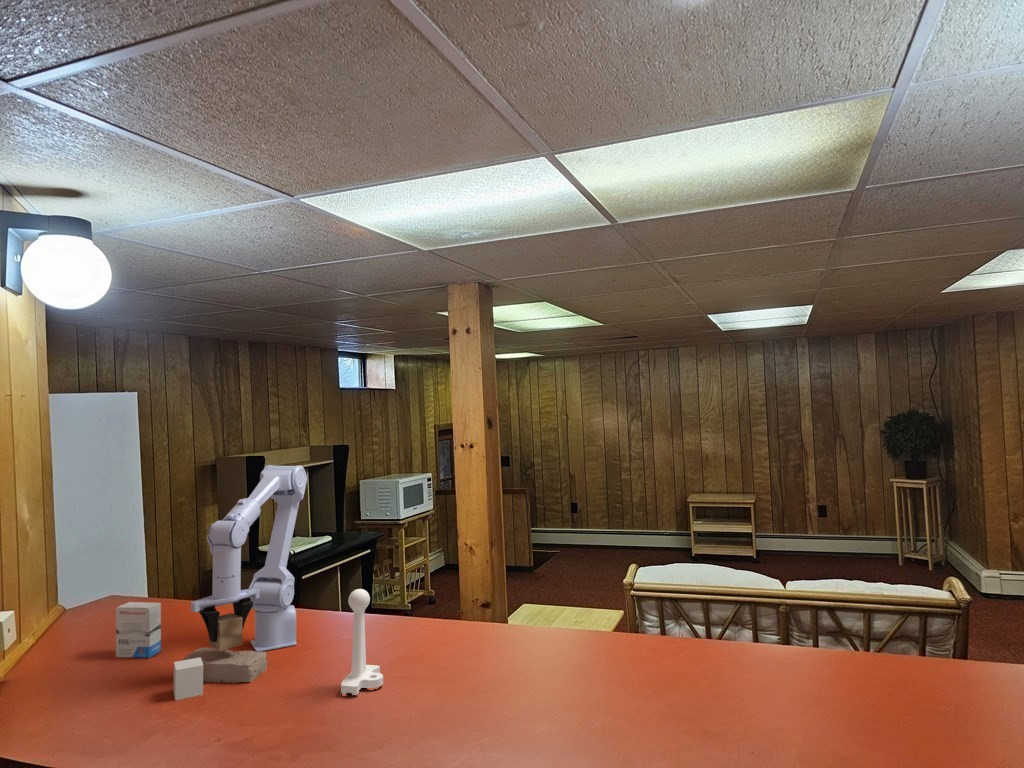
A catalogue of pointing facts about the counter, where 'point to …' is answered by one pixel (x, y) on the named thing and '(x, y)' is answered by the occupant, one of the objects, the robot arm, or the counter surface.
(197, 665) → the grey block
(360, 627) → the joystick
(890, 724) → the counter surface
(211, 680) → the brick
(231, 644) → the walnut block
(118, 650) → the ink box
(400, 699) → the counter surface
